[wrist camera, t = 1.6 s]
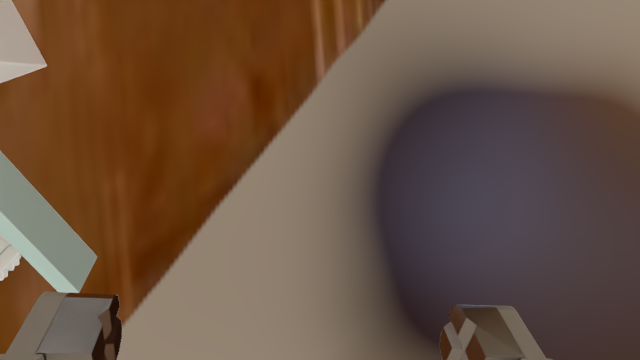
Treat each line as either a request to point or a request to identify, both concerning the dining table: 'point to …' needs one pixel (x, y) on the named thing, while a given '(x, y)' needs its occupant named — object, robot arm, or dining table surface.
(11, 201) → the right angle wall
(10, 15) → the milk
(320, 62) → the dining table surface
